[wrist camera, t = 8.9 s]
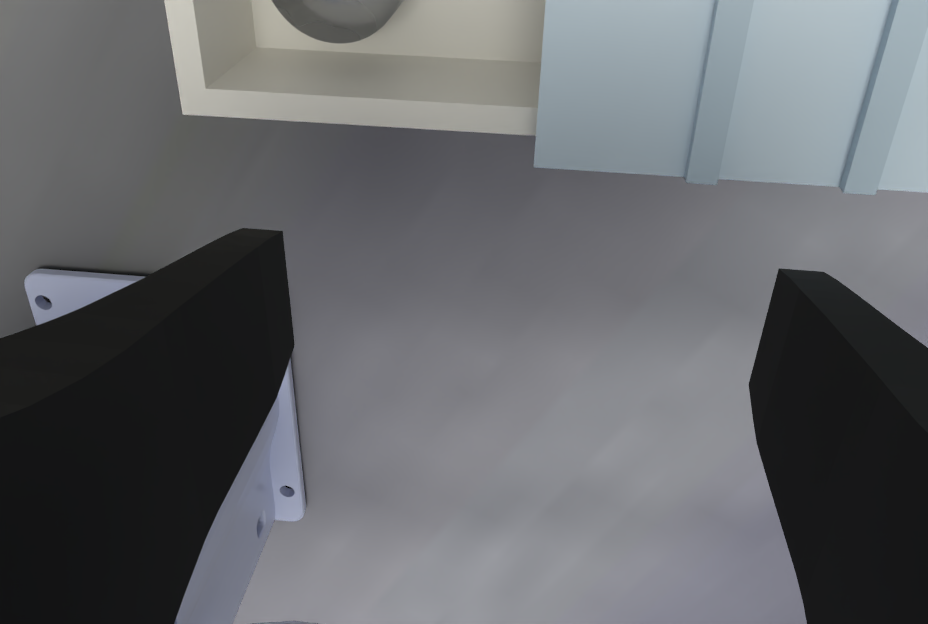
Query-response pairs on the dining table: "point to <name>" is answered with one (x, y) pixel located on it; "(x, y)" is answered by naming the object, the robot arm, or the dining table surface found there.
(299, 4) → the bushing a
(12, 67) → the dining table surface
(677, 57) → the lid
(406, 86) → the tub
